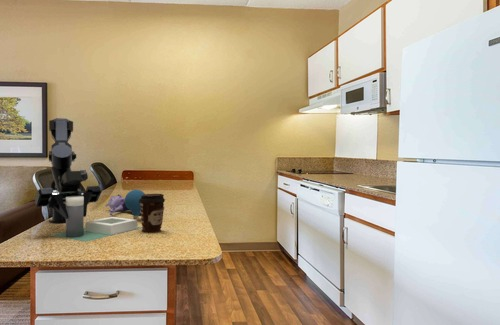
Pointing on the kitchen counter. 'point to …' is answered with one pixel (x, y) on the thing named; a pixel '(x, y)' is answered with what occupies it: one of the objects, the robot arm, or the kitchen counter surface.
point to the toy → (117, 204)
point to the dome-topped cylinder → (75, 216)
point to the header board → (103, 228)
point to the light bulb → (134, 202)
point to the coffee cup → (151, 212)
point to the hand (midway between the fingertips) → (76, 217)
